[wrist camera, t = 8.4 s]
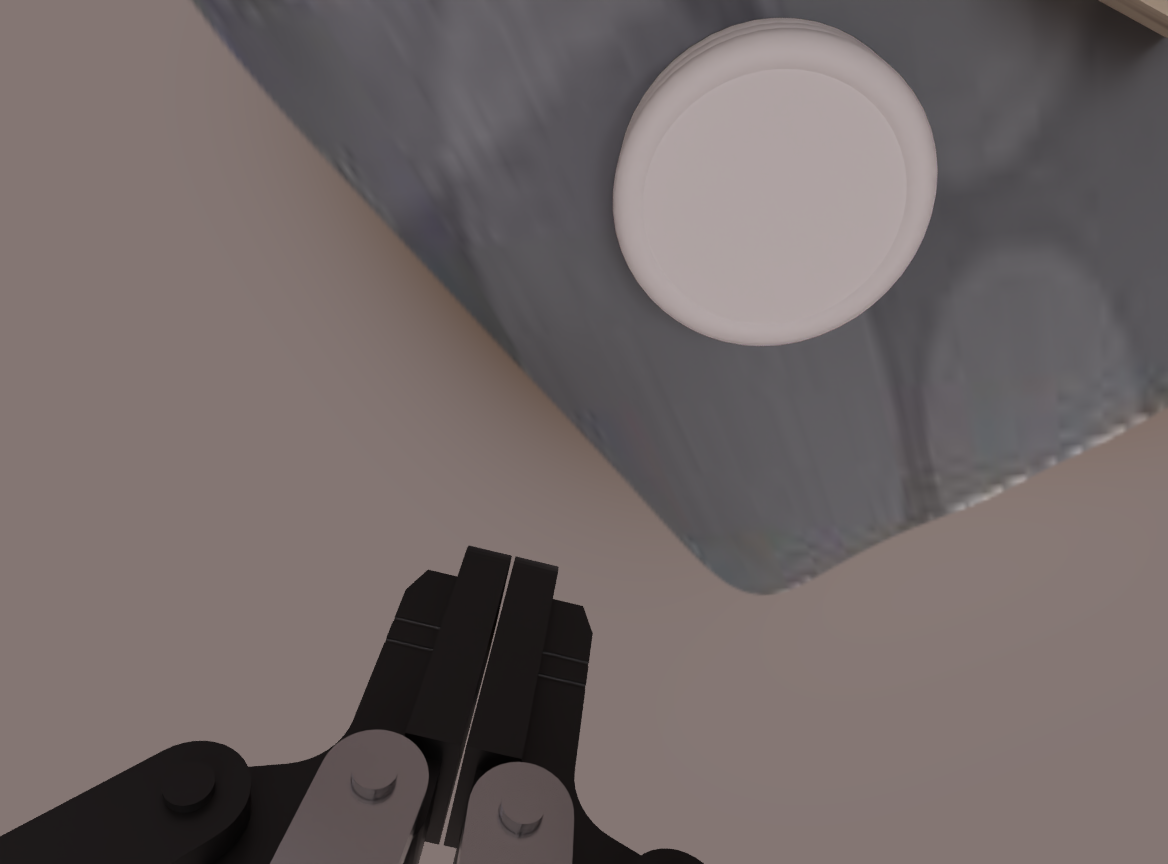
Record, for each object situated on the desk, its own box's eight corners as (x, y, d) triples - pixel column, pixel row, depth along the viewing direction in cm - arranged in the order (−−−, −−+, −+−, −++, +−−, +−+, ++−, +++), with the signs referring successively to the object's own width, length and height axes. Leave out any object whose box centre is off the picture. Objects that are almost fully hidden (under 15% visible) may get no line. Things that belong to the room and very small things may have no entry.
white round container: (741, -56, 25) (749, -49, 22) (981, 137, 28) (1016, 167, 25) (565, 211, 30) (552, 245, 27) (780, 356, 33) (789, 402, 30)
